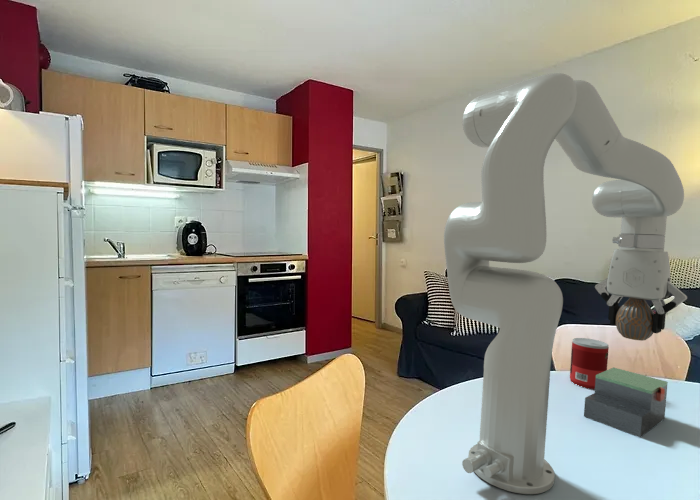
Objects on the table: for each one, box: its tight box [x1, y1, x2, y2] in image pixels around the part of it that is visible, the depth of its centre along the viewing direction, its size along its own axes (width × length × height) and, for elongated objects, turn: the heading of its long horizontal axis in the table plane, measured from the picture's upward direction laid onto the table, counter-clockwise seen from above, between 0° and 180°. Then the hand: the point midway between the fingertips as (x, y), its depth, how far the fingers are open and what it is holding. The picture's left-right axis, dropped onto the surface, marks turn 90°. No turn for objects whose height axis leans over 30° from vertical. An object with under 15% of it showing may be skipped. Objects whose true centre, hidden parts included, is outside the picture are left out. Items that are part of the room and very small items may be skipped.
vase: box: [615, 297, 655, 342], centre depth 83 cm, size 7×7×9 cm
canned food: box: [569, 337, 609, 390], centre depth 102 cm, size 8×8×11 cm
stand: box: [583, 367, 669, 438], centre depth 82 cm, size 14×11×8 cm
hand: (634, 327), depth 83 cm, fingers closed on vase, 6 cm apart
